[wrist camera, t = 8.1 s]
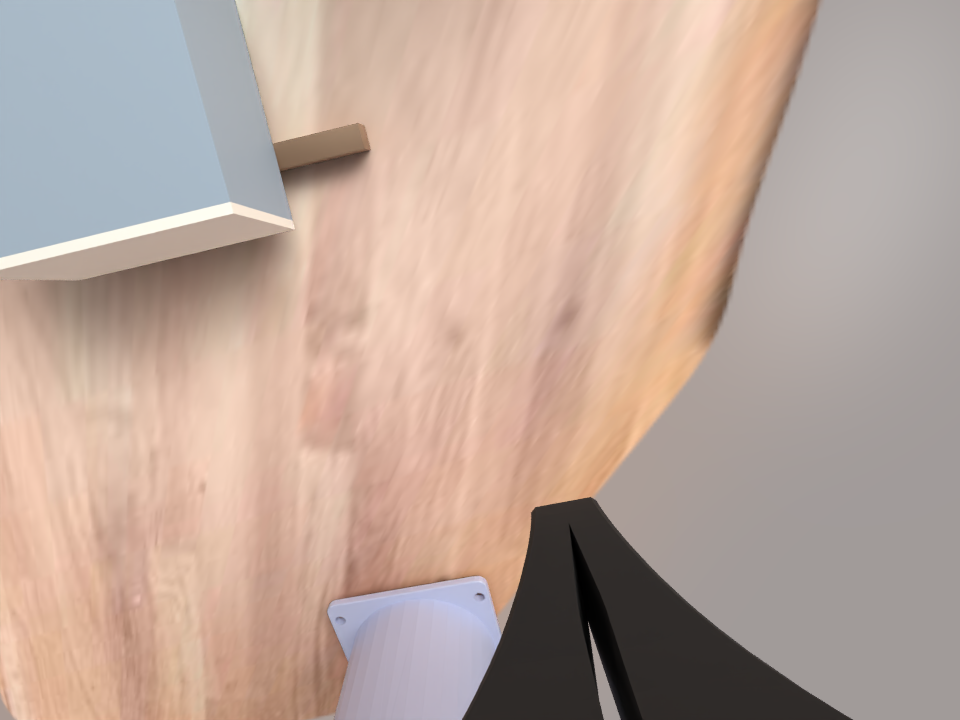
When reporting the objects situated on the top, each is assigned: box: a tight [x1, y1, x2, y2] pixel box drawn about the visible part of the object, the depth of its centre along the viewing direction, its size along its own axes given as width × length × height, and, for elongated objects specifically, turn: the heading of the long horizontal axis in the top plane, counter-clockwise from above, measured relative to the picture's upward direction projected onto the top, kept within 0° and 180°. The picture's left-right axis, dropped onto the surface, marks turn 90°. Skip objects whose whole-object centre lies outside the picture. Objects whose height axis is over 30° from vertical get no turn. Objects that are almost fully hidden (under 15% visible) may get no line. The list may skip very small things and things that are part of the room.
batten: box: [273, 123, 371, 171], centre depth 18 cm, size 1×14×1 cm, turn 103°
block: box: [0, 0, 295, 280], centre depth 15 cm, size 4×8×8 cm
